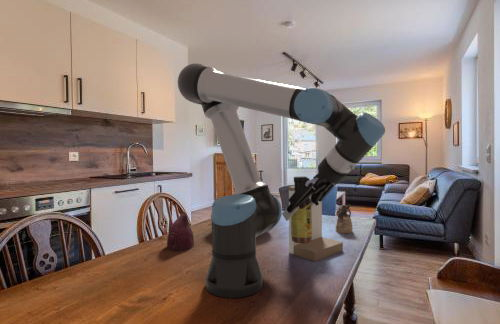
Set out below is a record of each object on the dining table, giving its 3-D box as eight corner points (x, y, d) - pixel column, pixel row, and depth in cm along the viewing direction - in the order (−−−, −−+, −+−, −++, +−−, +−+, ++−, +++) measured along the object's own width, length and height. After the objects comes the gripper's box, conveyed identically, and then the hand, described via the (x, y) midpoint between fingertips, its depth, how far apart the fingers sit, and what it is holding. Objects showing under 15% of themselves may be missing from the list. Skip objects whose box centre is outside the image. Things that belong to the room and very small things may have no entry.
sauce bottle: (312, 244, 88) (311, 177, 87) (290, 244, 89) (289, 177, 88) (312, 238, 94) (310, 175, 94) (292, 237, 95) (290, 175, 95)
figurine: (337, 228, 137) (337, 202, 136) (353, 230, 134) (353, 203, 133) (334, 232, 130) (334, 205, 130) (351, 234, 127) (351, 206, 127)
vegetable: (197, 254, 113) (207, 217, 112) (174, 258, 106) (184, 218, 104) (183, 242, 120) (191, 207, 119) (160, 244, 113) (169, 207, 111)
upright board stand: (314, 261, 96) (313, 189, 95) (288, 253, 104) (288, 187, 103) (343, 250, 106) (343, 185, 106) (318, 243, 115) (317, 183, 114)
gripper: (323, 177, 73) (277, 230, 86) (364, 172, 85) (318, 220, 98) (306, 155, 77) (264, 210, 90) (347, 154, 89) (305, 202, 102)
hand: (292, 215), depth 94 cm, fingers closed on sauce bottle, 6 cm apart
